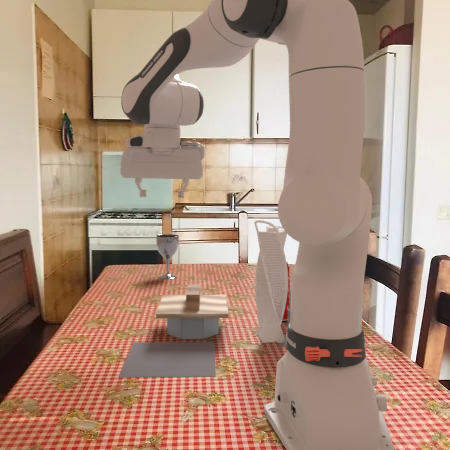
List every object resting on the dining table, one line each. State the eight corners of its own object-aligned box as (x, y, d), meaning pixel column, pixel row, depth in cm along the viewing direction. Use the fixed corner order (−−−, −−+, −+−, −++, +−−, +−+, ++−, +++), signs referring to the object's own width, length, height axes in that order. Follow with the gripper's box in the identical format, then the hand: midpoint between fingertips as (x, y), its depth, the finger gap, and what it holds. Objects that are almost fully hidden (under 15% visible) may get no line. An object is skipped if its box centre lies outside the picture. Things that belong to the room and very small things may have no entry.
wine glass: (152, 278, 171) (152, 236, 169) (162, 273, 179) (161, 233, 177) (173, 280, 169) (173, 237, 167) (182, 275, 176) (182, 234, 175)
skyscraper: (259, 350, 105) (261, 222, 102) (248, 337, 113) (249, 218, 110) (295, 346, 108) (298, 221, 104) (281, 334, 115) (284, 217, 112)
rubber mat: (215, 378, 90) (215, 376, 90) (118, 379, 89) (118, 377, 89) (214, 344, 108) (214, 341, 108) (133, 344, 107) (133, 342, 107)
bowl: (218, 340, 110) (218, 315, 109) (165, 341, 109) (165, 315, 109) (217, 323, 122) (217, 300, 121) (170, 324, 121) (169, 300, 121)
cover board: (228, 318, 107) (228, 298, 107) (156, 318, 107) (155, 298, 106) (225, 298, 123) (226, 281, 122) (162, 298, 122) (162, 281, 122)
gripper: (204, 142, 122) (203, 197, 124) (123, 140, 121) (123, 195, 123) (204, 141, 116) (203, 198, 118) (118, 139, 115) (119, 197, 117)
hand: (162, 197), depth 120 cm, fingers open, 8 cm apart
